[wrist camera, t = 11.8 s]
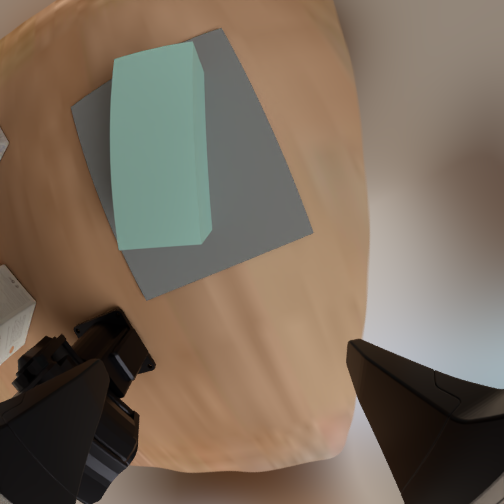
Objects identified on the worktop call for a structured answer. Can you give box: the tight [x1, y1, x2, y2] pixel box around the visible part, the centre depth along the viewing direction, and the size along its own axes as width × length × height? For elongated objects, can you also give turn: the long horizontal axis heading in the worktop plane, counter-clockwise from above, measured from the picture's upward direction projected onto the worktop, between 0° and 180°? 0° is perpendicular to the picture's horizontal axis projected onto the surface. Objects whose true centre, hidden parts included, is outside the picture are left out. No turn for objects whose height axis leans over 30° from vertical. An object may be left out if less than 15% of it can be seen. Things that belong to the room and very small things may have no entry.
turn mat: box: [71, 28, 313, 301], centre depth 18 cm, size 14×18×1 cm
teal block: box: [110, 41, 212, 250], centre depth 15 cm, size 5×5×12 cm
